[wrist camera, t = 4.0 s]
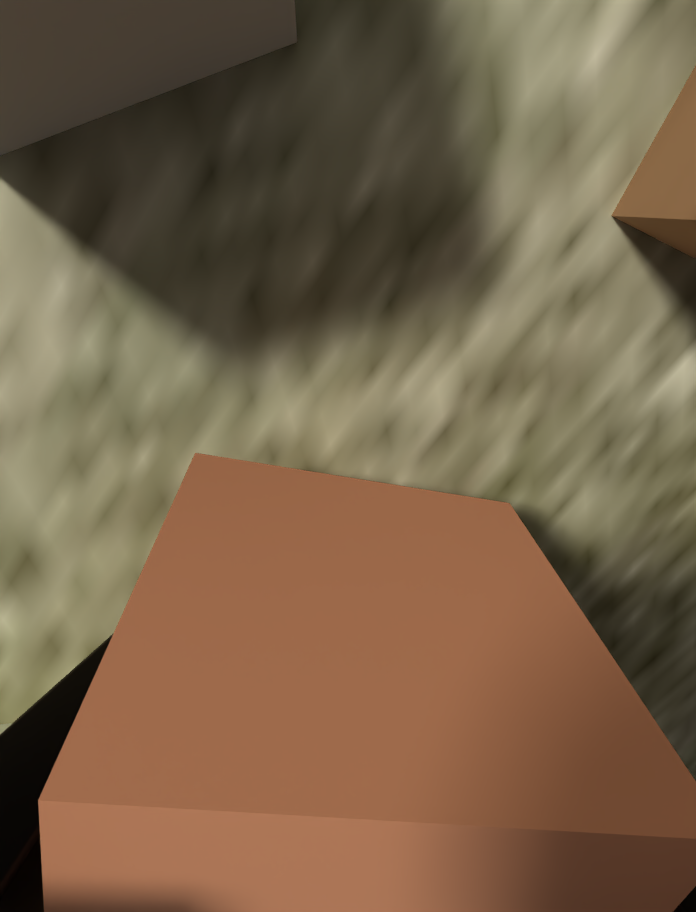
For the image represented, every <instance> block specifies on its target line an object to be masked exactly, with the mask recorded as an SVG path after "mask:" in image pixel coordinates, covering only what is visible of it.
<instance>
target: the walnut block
mask: <svg viewBox="0 0 696 912" xmlns="http://www.w3.org/2000/svg"><path fill="white" fill-rule="evenodd" d="M612 216H613V217H615V218H617V219H618V220H620V221H622V222H624V223H626V224H628V225H630V226H632V227H634V228H636V229H638V230H640V231H642V232H644V233H646V234H648V235H650V236H652V237H654V238H656V239H657V240H659V241H661V242H663V243H665V244H667V245H669V246H671V247H673V248H675V249H677V250H679V251H681V252H683V253H685V254H687V255H689V256H691V257H693V258H695V259H696V66H695V68H694V69H693V71H692V73H691V75H690V76H689V78H688V80H687V82H686V84H685V85H684V87H683V89H682V91H681V93H680V94H679V96H678V98H677V100H676V101H675V103H674V105H673V107H672V109H671V110H670V112H669V114H668V116H667V117H666V119H665V121H664V123H663V125H662V126H661V128H660V130H659V132H658V134H657V135H656V137H655V139H654V141H653V142H652V144H651V146H650V148H649V150H648V151H647V153H646V155H645V157H644V159H643V160H642V162H641V164H640V166H639V167H638V169H637V171H636V173H635V175H634V176H633V178H632V180H631V182H630V184H629V185H628V187H627V189H626V191H625V192H624V194H623V196H622V198H621V200H620V201H619V203H618V205H617V207H616V209H615V210H614V212H613V214H612Z"/></svg>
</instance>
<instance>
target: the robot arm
mask: <svg viewBox="0 0 696 912" xmlns="http://www.w3.org/2000/svg"><path fill="white" fill-rule="evenodd" d="M113 634H114V633H113ZM113 634H112V635H111V636H110V637H109V638H108V639H107V640H106V641H104V642H103V643H102V644H101V645H100V646H99V647H98V648H97V649H95V650H94V651H93V652H92V653H91V654H90V655H89V656H88V657H87V658H85V659H84V660H83V661H82V662H81V663H80V664H79V665H78V666H76V667H75V668H74V669H73V670H72V671H71V672H70V673H69V674H67V675H66V676H65V677H64V678H63V679H62V680H61V681H60V682H58V683H57V684H56V685H55V686H54V687H53V688H52V689H51V690H49V691H48V692H47V693H46V694H45V695H44V696H43V697H42V698H40V699H39V700H38V701H37V702H36V703H35V704H34V705H33V706H31V707H30V708H29V709H28V710H27V711H26V712H25V713H24V714H22V715H21V716H20V717H19V718H18V719H17V720H16V721H15V722H13V723H12V724H11V725H10V726H9V727H8V728H7V729H6V730H4V731H3V732H2V733H1V734H0V912H44V901H43V882H42V864H41V845H40V826H39V807H38V800H39V797H40V795H41V793H42V791H43V789H44V786H45V784H46V782H47V780H48V778H49V775H50V773H51V771H52V769H53V766H54V764H55V762H56V760H57V758H58V755H59V753H60V751H61V749H62V747H63V744H64V742H65V740H66V738H67V736H68V733H69V731H70V729H71V727H72V724H73V722H74V720H75V718H76V716H77V713H78V711H79V709H80V707H81V705H82V702H83V700H84V698H85V696H86V694H87V691H88V689H89V687H90V685H91V682H92V680H93V678H94V676H95V674H96V671H97V669H98V667H99V665H100V663H101V660H102V658H103V656H104V654H105V652H106V649H107V647H108V645H109V643H110V640H111V638H112V636H113ZM673 912H696V886H695V887H694V889H693V890H692V891H691V892H690V893H689V894H688V895H687V896H686V898H685V899H684V900H683V901H682V902H681V903H680V904H679V905H678V907H677V908H676V909H675V910H674V911H673Z"/></svg>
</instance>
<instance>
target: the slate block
mask: <svg viewBox="0 0 696 912" xmlns="http://www.w3.org/2000/svg"><path fill="white" fill-rule="evenodd" d="M296 42H297V30H296V14H295V0H0V156H1V155H3V154H6V153H8V152H11V151H14V150H16V149H19V148H22V147H24V146H27V145H29V144H32V143H35V142H37V141H40V140H42V139H45V138H48V137H50V136H53V135H56V134H58V133H61V132H63V131H66V130H69V129H71V128H74V127H77V126H79V125H82V124H84V123H87V122H90V121H92V120H95V119H97V118H100V117H103V116H105V115H108V114H111V113H113V112H116V111H118V110H121V109H124V108H126V107H129V106H131V105H134V104H137V103H139V102H142V101H145V100H147V99H150V98H152V97H155V96H158V95H160V94H163V93H166V92H168V91H171V90H173V89H176V88H179V87H181V86H184V85H186V84H189V83H192V82H194V81H197V80H200V79H202V78H205V77H207V76H210V75H213V74H215V73H218V72H220V71H223V70H226V69H228V68H231V67H234V66H236V65H239V64H241V63H244V62H247V61H249V60H252V59H255V58H257V57H260V56H262V55H265V54H268V53H270V52H273V51H275V50H278V49H281V48H283V47H286V46H289V45H291V44H294V43H296Z"/></svg>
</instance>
